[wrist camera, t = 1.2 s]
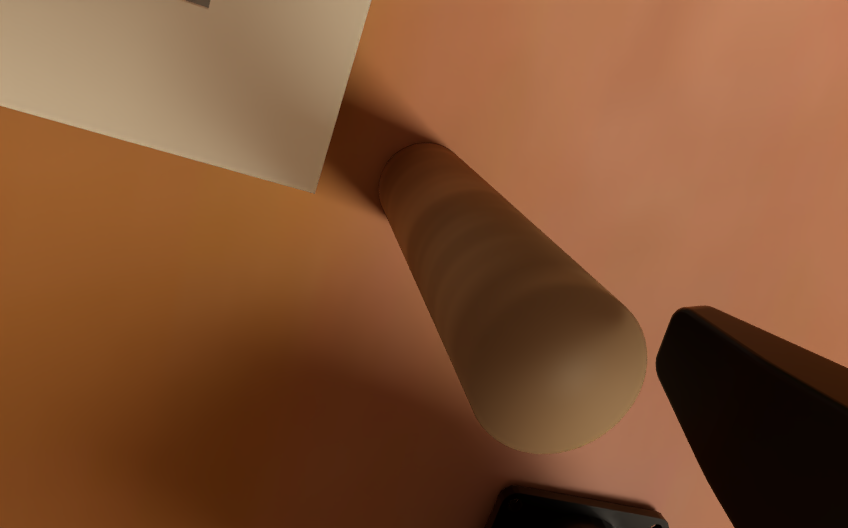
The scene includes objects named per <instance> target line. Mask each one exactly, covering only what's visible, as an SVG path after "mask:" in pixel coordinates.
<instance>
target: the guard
mask: <svg viewBox="0 0 848 528" xmlns="http://www.w3.org/2000/svg"><path fill="white" fill-rule="evenodd" d="M370 3H371V0H0V106H3V107H7V108H10V109H14V110H17V111H21V112H25V113H28V114H32V115H35V116H39V117H42V118H46V119H50V120H53V121H57V122H60V123H64V124H68V125H71V126H75V127H78V128H82V129H85V130H89V131H93V132H96V133H100V134H103V135H107V136H110V137H114V138H118V139H121V140H125V141H128V142H132V143H135V144H139V145H143V146H146V147H150V148H153V149H157V150H160V151H164V152H168V153H171V154H175V155H178V156H182V157H185V158H189V159H193V160H196V161H200V162H203V163H207V164H210V165H214V166H218V167H221V168H225V169H228V170H232V171H235V172H239V173H243V174H246V175H250V176H253V177H257V178H260V179H264V180H268V181H271V182H275V183H278V184H282V185H285V186H289V187H293V188H296V189H300V190H303V191H307V192H310V193H314V194H315V191H316V188H317V184H318V181H319V178H320V174H321V171H322V167H323V164H324V160H325V157H326V154H327V150H328V147H329V143H330V140H331V137H332V133H333V130H334V126H335V123H336V119H337V116H338V113H339V109H340V106H341V102H342V99H343V95H344V92H345V89H346V85H347V82H348V78H349V75H350V71H351V68H352V65H353V61H354V58H355V54H356V51H357V47H358V44H359V41H360V37H361V34H362V30H363V27H364V24H365V20H366V17H367V13H368V10H369V6H370Z"/></svg>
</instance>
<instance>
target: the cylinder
mask: <svg viewBox="0 0 848 528" xmlns="http://www.w3.org/2000/svg"><path fill="white" fill-rule="evenodd" d="M379 198H380V202H381V205H382V207H383V210H384V212H385V214H386V216H387V219H388V221H389V223H390V225H391V228H392V230H393V232H394V234H395V237H396V239H397V241H398V243H399V246H400V248H401V250H402V252H403V255H404V257H405V259H406V261H407V264H408V266H409V268H410V270H411V272H412V275H413V277H414V279H415V281H416V284H417V286H418V288H419V290H420V293H421V295H422V297H423V299H424V302H425V304H426V306H427V308H428V311H429V313H430V315H431V317H432V320H433V322H434V324H435V326H436V329H437V331H438V333H439V335H440V338H441V340H442V342H443V344H444V346H445V349H446V351H447V353H448V355H449V358H450V360H451V362H452V364H453V367H454V369H455V371H456V373H457V376H458V378H459V380H460V382H461V385H462V387H463V389H464V391H465V394H466V396H467V398H468V400H469V403H470V405H471V407H472V409H473V411H474V414H475V416H476V418H477V419H478V421H479V422H480V424H481V425H482V427H483V428H484V429H485V430H486V431H487V432H488V433H489V434H490V435H491V436H492V437H493V438H495V439H496V440H497V441H499V442H500V443H502V444H504V445H506V446H508V447H510V448H513V449H515V450H518V451H522V452H526V453H533V454H554V453H561V452H566V451H570V450H573V449H576V448H579V447H582V446H584V445H586V444H588V443H590V442H592V441H594V440H596V439H597V438H599V437H601V436H602V435H604V434H605V433H606V432H608V431H609V430H610V429H612V428H613V427H614V426H615V425H616V424H617V423H618V422H619V421H620V420H621V419H622V418H623V417H624V415H625V414H626V413H627V412H628V410H629V409H630V408H631V406H632V405H633V403H634V402H635V400H636V398H637V396H638V394H639V392H640V389H641V387H642V384H643V381H644V377H645V373H646V367H647V348H646V342H645V338H644V335H643V332H642V329H641V327H640V325H639V323H638V321H637V320H636V318H635V317H634V316H633V314H632V313H631V312H630V311H629V310H628V309H627V308H626V307H625V306H624V305H623V304H622V303H621V302H620V301H619V300H618V299H617V298H615V297H614V296H613V295H612V294H611V293H610V292H609V291H608V290H607V289H605V288H604V287H603V286H602V285H601V284H600V283H599V282H598V281H596V280H595V279H594V278H593V277H592V276H591V275H590V274H589V273H588V272H586V271H585V270H584V269H583V268H582V267H581V266H580V265H579V264H577V263H576V262H575V261H574V260H573V259H572V258H571V257H570V256H569V255H567V254H566V253H565V252H564V251H563V250H562V249H561V248H560V247H559V246H557V245H556V244H555V243H554V242H553V241H552V240H551V239H550V238H548V237H547V236H546V235H545V234H544V233H543V232H542V231H541V230H540V229H538V228H537V227H536V226H535V225H534V224H533V223H532V222H531V221H529V220H528V219H527V218H526V217H525V216H524V215H523V214H522V213H521V212H519V211H518V210H517V209H516V208H515V207H514V206H513V205H512V204H511V203H509V202H508V201H507V200H506V199H505V198H504V197H503V196H502V195H500V194H499V193H498V192H497V191H496V190H495V189H494V188H493V187H492V186H490V185H489V184H488V183H487V182H486V181H485V180H484V179H483V178H481V177H480V176H479V175H478V174H477V173H476V172H475V171H474V170H473V169H471V168H470V167H469V166H468V165H467V164H466V163H465V162H464V161H462V160H461V159H460V158H459V157H458V156H457V155H456V154H455V153H453V152H452V151H451V150H449V149H447V148H446V147H444V146H441V145H438V144H434V143H418V144H413V145H410V146H408V147H405V148H403V149H402V150H400V151H399V152H397V153H396V154H395V155H394V156H393V157H392V158H391V159H390V160H389V161H388V163H387V164H386V165H385V167H384V169H383V171H382V174H381V177H380V181H379Z"/></svg>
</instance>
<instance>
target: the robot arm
mask: <svg viewBox="0 0 848 528" xmlns="http://www.w3.org/2000/svg"><path fill="white" fill-rule="evenodd" d="M656 371H657V375H658V378H659V380H660V382H661V384H662V387H663V389H664V391H665V393H666V395H667V397H668V399H669V402H670V404H671V406H672V408H673V410H674V412H675V414H676V416H677V419H678V421H679V423H680V425H681V427H682V429H683V431H684V433H685V436H686V438H687V440H688V442H689V444H690V446H691V448H692V451H693V453H694V455H695V457H696V459H697V461H698V463H699V465H700V467H701V469H702V471H703V473H704V475H705V477H706V479H707V481H708V483H709V485H710V486H711V488H712V490H713V492H714V494H715V495H716V497H717V499H718V500H719V502H720V504H721V506H722V507H723V509H724V511H725V512H726V514H727V516H728V517H729V519H730V521H731V522H732V524H733V526H734V528H848V368H846V367H844V366H842V365H840V364H838V363H835V362H833V361H831V360H829V359H826V358H824V357H822V356H820V355H818V354H815V353H813V352H811V351H809V350H806V349H804V348H802V347H800V346H798V345H795V344H793V343H791V342H789V341H786V340H784V339H782V338H780V337H778V336H775V335H773V334H771V333H769V332H767V331H764V330H762V329H760V328H758V327H755V326H753V325H751V324H749V323H747V322H744V321H742V320H740V319H738V318H735V317H733V316H731V315H729V314H727V313H724V312H722V311H720V310H718V309H715V308H713V307H710V306H693V307H683V308H680V309H678V310H677V311H676V312H675V313H674V314H673V315H672V317H671V320H670V322H669V325H668V328H667V330H666V333H665V335H664V338H663V341H662V343H661V346H660V349H659V351H658V354H657V357H656ZM514 499H518V501H517V502H516V503H514V504H509V503H510V501H512V500H514ZM655 524H656V525H655ZM653 525H655V526H654V527H652V528H669V526H668V523H667V521H666V520H665V519H664V517H663V516H662V515H661V513H659V512H657V511H652V510H647V509H641V508H636V507H630V506H625V505H620V504H614V503H609V502H603V501H598V500H593V499H587V498H582V497H576V496H571V495H565V494H560V493H555V492H549V491H544V490H538V489H533V488H527V487H522V486H509V487H506V488H505V489H503V490H502V491H501V492H500V494H499V495H498V498H497V500H496V502H495V505H494V507H493V510H492V512H491V514H490V517H489V519H488V522H487V524H486V526H485V528H651V526H653Z"/></svg>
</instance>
